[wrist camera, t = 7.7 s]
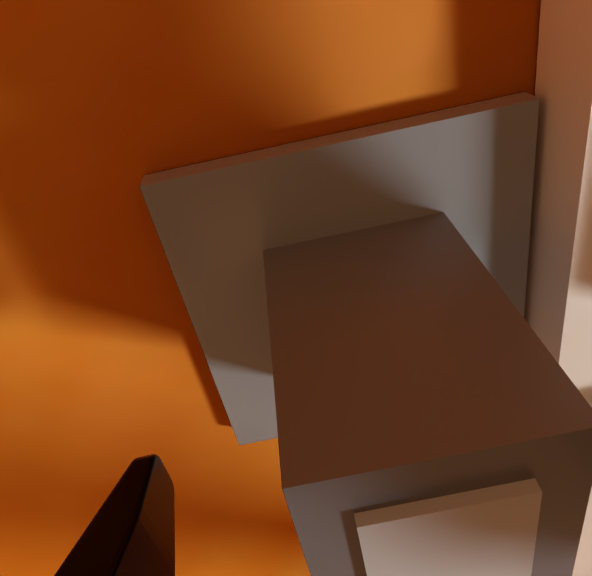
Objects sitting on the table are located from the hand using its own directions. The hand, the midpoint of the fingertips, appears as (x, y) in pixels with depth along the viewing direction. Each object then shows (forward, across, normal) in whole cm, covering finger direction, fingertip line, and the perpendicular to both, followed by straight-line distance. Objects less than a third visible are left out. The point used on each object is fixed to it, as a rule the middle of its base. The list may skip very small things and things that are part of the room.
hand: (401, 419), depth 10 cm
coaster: (+4, 0, 0) cm, 4 cm away
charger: (+4, 0, 0) cm, 4 cm away
